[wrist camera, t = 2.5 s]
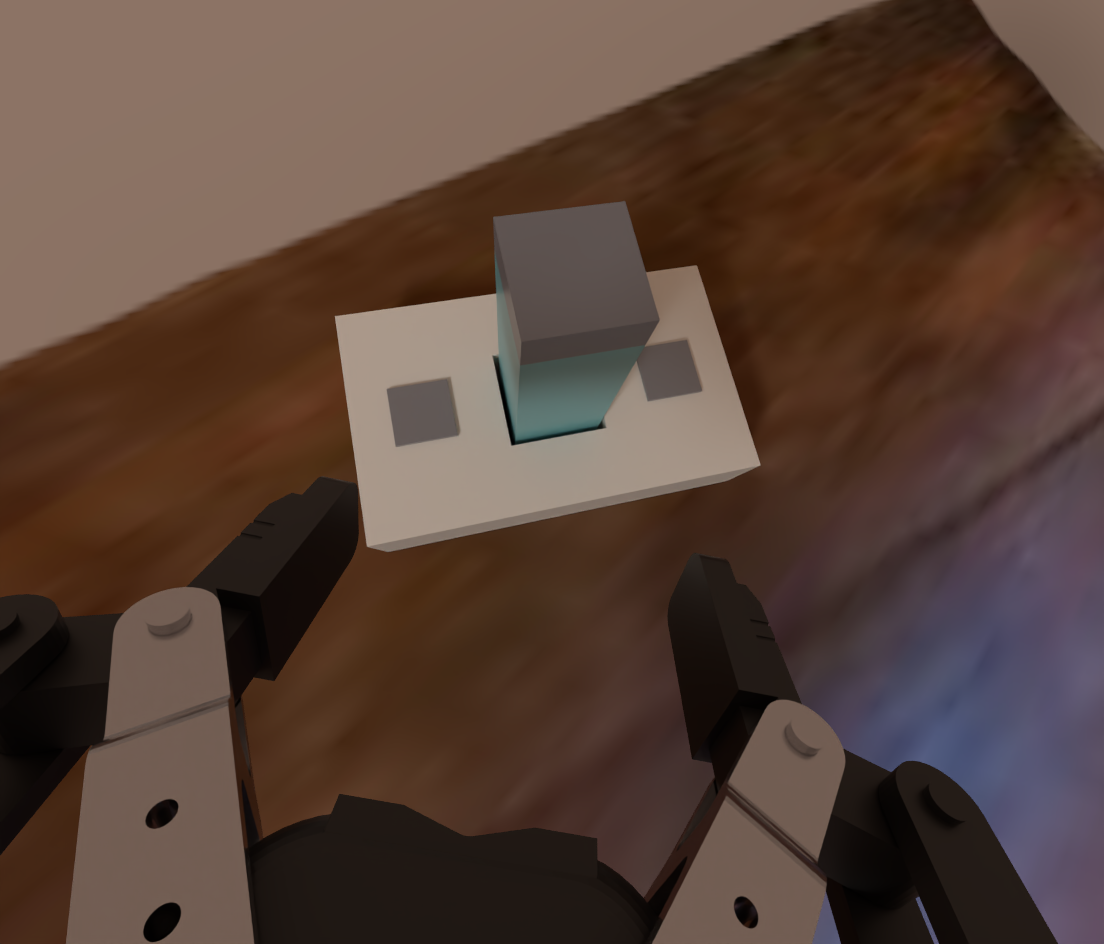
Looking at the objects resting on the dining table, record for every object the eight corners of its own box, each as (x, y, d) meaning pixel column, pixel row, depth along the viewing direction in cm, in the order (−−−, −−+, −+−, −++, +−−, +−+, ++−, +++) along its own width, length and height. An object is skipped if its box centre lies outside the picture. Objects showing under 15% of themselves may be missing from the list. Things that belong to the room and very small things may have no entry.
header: (673, 304, 31) (698, 262, 27) (726, 480, 29) (762, 464, 25) (358, 352, 28) (333, 314, 24) (388, 552, 26) (365, 546, 22)
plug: (570, 377, 29) (625, 201, 16) (587, 445, 28) (659, 320, 15) (500, 389, 29) (493, 217, 15) (514, 459, 28) (521, 341, 14)
